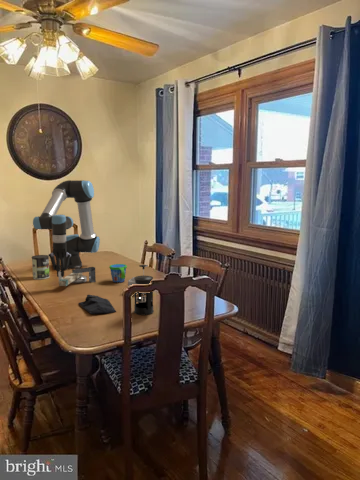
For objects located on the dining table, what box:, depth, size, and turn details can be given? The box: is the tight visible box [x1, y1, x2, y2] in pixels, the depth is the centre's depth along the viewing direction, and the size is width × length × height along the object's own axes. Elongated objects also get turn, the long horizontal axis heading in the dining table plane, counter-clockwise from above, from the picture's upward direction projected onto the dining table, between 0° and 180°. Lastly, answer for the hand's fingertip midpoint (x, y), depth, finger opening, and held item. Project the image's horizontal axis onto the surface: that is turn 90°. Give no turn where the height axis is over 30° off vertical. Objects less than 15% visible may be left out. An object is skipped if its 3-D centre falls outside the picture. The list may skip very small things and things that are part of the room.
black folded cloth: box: [78, 294, 117, 315], centre depth 185 cm, size 15×22×5 cm
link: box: [58, 266, 83, 287], centre depth 224 cm, size 25×6×6 cm, turn 173°
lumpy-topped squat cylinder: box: [127, 276, 146, 294], centre depth 211 cm, size 10×13×9 cm
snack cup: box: [108, 263, 128, 284], centre depth 234 cm, size 16×10×10 cm
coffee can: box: [31, 254, 50, 280], centre depth 241 cm, size 10×10×14 cm
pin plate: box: [70, 274, 88, 284], centre depth 234 cm, size 11×11×2 cm
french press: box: [133, 264, 154, 316], centre depth 177 cm, size 12×9×23 cm
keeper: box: [71, 266, 97, 283], centre depth 230 cm, size 14×3×9 cm, turn 126°
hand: (60, 282), depth 217 cm, fingers closed
